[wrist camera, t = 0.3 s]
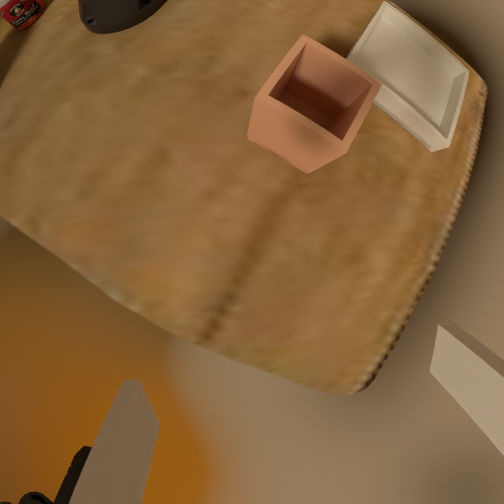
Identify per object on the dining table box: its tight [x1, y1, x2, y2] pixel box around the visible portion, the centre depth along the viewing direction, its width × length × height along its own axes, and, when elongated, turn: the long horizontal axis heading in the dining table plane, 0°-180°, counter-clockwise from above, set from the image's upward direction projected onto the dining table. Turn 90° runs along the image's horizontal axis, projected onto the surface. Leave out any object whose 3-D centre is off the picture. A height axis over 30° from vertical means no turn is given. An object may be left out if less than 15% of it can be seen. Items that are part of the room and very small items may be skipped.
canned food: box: [0, 0, 45, 30], centre depth 22 cm, size 8×8×11 cm
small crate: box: [246, 34, 382, 174], centre depth 28 cm, size 9×9×13 cm
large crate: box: [345, 1, 469, 152], centre depth 33 cm, size 19×19×4 cm
